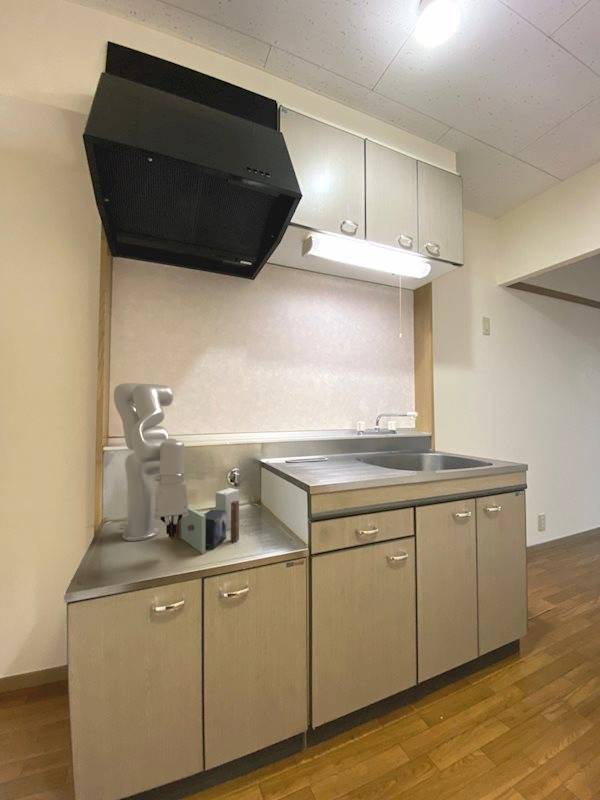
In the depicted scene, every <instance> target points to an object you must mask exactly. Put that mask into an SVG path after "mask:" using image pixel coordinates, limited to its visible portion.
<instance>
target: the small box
mask: <svg viewBox="0 0 600 800" xmlns="http://www.w3.org/2000/svg"><path fill="white" fill-rule="evenodd" d="M203 515H205V516H206V530H205V550H214V549H216V548H217V547H218V546H219V545H220V544H221V543H222V542H224V541H225V540H226V539H227V531H226V511H224V510H216V509H213V508H212V509H210V510H208V511H207V512H206V513H203Z"/></svg>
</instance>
